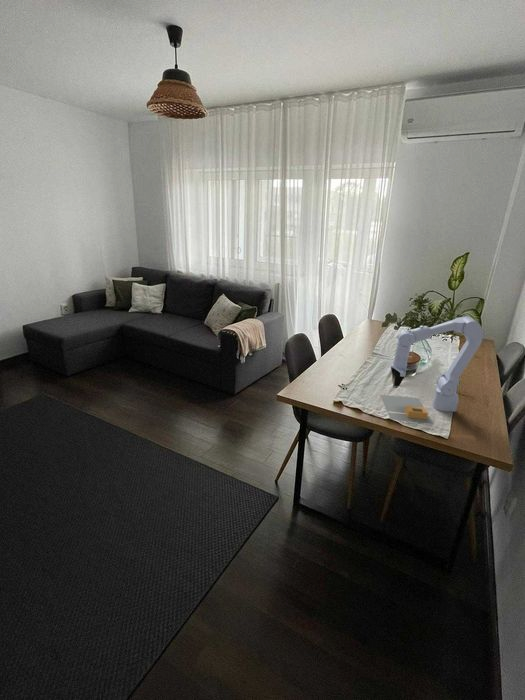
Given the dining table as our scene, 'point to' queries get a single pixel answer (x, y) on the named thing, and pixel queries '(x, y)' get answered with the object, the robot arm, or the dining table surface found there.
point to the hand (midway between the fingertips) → (395, 384)
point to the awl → (394, 385)
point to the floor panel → (402, 408)
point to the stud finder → (416, 412)
